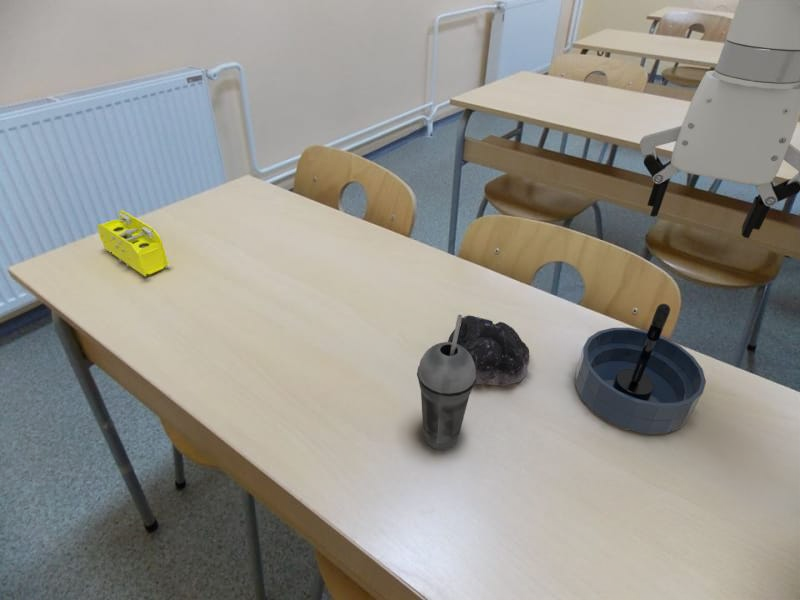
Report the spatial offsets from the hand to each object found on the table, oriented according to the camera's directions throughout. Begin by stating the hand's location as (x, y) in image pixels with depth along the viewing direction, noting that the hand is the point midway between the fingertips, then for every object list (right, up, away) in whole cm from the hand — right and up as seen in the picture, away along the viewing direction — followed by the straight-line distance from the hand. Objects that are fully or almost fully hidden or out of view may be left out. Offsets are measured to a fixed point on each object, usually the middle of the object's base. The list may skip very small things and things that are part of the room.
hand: (698, 222), depth 60 cm
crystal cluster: (-21, -19, +22) cm, 36 cm away
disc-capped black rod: (-1, -22, +16) cm, 28 cm away
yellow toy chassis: (-88, -1, +44) cm, 98 cm away
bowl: (-1, -23, +17) cm, 28 cm away
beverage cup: (-29, -28, +10) cm, 41 cm away
